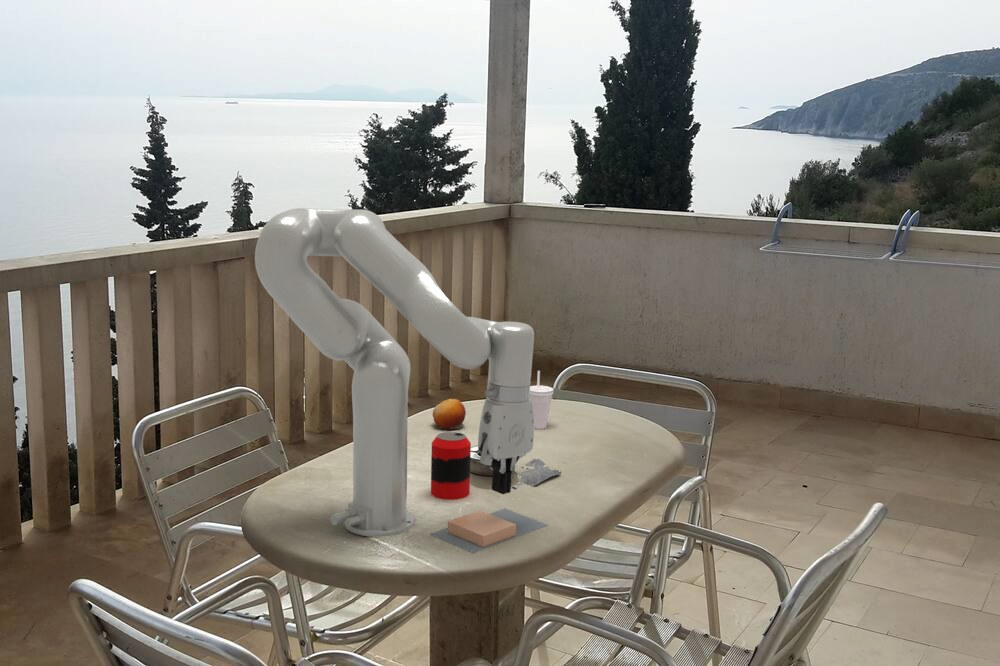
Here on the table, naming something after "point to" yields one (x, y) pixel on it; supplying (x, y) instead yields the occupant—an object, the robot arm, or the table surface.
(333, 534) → the table surface
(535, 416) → the smoothie
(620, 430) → the table surface
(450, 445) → the soda can
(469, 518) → the tile
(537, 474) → the stone slab
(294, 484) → the table surface
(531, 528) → the mat
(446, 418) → the fruit
